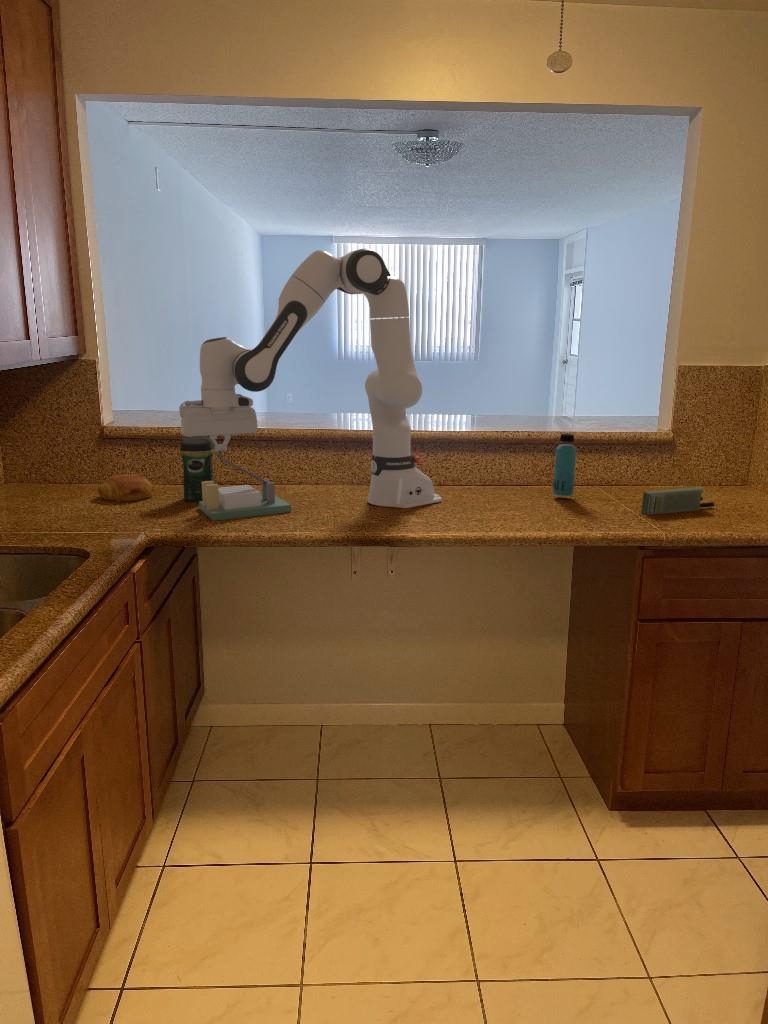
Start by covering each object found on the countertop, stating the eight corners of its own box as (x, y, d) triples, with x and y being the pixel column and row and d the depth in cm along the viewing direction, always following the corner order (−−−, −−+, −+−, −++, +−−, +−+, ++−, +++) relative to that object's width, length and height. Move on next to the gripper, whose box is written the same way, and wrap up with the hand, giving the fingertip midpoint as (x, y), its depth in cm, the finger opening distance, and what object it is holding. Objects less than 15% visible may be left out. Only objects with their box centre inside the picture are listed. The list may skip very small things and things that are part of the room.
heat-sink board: (273, 500, 206) (272, 472, 204) (291, 511, 194) (290, 481, 192) (199, 508, 196) (197, 478, 194) (213, 520, 184) (211, 489, 181)
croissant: (98, 502, 212) (91, 477, 209) (148, 489, 219) (143, 465, 217) (108, 511, 200) (101, 484, 198) (161, 497, 208) (155, 471, 205)
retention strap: (267, 485, 198) (269, 481, 198) (270, 487, 196) (273, 483, 196) (212, 456, 189) (215, 451, 189) (215, 458, 186) (217, 453, 186)
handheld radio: (638, 513, 198) (707, 506, 206) (646, 516, 195) (716, 509, 203) (641, 490, 196) (711, 485, 204) (649, 493, 193) (720, 487, 201)
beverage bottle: (573, 496, 216) (578, 432, 211) (573, 501, 209) (578, 435, 205) (551, 495, 217) (556, 432, 212) (551, 500, 211) (556, 434, 206)
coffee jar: (218, 495, 212) (215, 435, 207) (214, 501, 204) (210, 439, 199) (186, 496, 211) (182, 435, 206) (180, 502, 203) (176, 439, 199)
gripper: (181, 402, 177) (184, 455, 181) (258, 399, 187) (260, 450, 190) (176, 400, 183) (179, 451, 186) (251, 397, 192) (253, 447, 195)
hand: (220, 451), depth 188 cm, fingers closed
